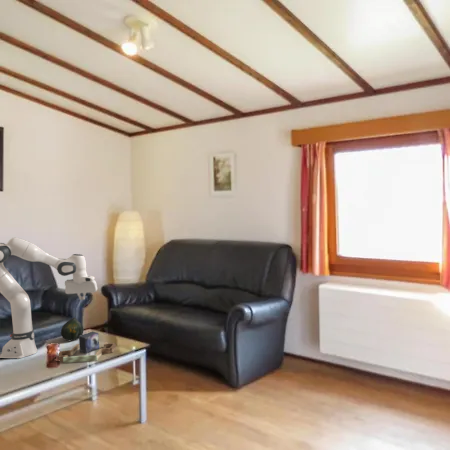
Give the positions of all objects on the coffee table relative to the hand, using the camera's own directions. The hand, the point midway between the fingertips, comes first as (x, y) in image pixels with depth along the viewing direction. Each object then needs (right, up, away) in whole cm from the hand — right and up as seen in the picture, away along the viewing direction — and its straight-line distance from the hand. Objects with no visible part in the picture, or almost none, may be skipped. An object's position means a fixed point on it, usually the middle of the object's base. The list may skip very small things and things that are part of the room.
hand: (82, 299), depth 297 cm
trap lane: (+9, -30, -20) cm, 37 cm away
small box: (+9, -30, -14) cm, 34 cm away
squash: (-11, -30, +14) cm, 34 cm away
